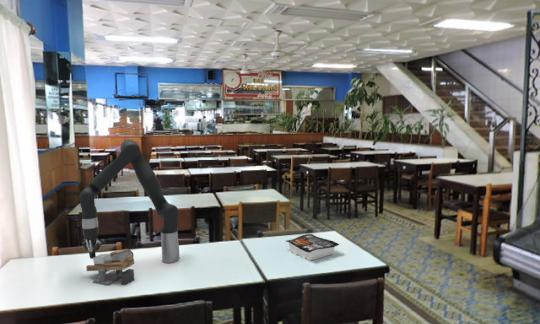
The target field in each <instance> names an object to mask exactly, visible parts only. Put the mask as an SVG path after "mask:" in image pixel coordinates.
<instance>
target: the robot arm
mask: <svg viewBox="0 0 540 324" xmlns="http://www.w3.org/2000/svg"><path fill="white" fill-rule="evenodd" d="M129 164H130V165H131V167H132V168H133V171H134V173H135V175H136V178H137V179H138V182H139V184H140V185H141V187H142V189H143V191H144V192H145V193H146V195H147V196H148V198H149V200H150V201H151V202H152V204H153V206H154V209H155V211H156V213H157V216H158V217H159V218H160V219H162V220H163V225H162V226H160V240H161V241H160V242H161V261H162V263H164V264H174V263H177V262H178V261H179V259H180V257H181V256H180V243H179V238H178V237H179V236H178V235H179V233H178V228H179V226H180V225H179V224H180V223H179V220H180V219H179V216H180V213H179V212H180V211H179V209H178V207H177V206H176V205H174V204H171V203H169V202H168V201H167V199H166V198H165V196H164V194H163V190H162V184H161V181H160V180H159V178H158V177H157V175H156V173H155V172H154V171H153V169H152V168H151V166H150V165H149V163H148V162H147V161H146V159H145V157H144V155H143V153H142V151H141V148H140V145H139V144H138V142H137V141H135V140H133V139H126V140H124V141H123V142H122V143H121V145H120V152H119V154H118V155H117V157H116V158H115V159H114V160H113V161H112V162H110V164H108V165H106V166H105V167H104V168H103V169H102V170H100V171H99V173H97V175H96V176H95V177H94V178H93V179H92V181H91V182H90V183H89V184H88V185H87V186H86V187H84V189H83V190H81V192H80V193H79V195H78V197H79V203H80V208H81V218H82V219H81V226H82V236H83V239H82V240H81V241H80V242H81V244H82V246H83V248H84V249H85V250H86V251H88V253H89V258H90V260H93V257H96V256H97V255H96V251H98V250H99V249H100V247H101V246H102V244H103V242H102V241H100V240H99V237H98V235H99V233H100V231H99V230H100V229H99V220H98V211H97V207H96V205H95V203H96V202H95V199H96V197H97V196H98V195H99V194H100V193H101V192H102V190H103V189H105V188H106V187H107V186H108V185H109V184H110V183H111V182H112V180H114V178H116V176H118V174H119V173H120V172H121V171H122V170H123V169H124V168H125V167H127V166H128V165H129Z"/></svg>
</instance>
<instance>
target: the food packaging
mask: <svg viewBox="0 0 540 324" xmlns="http://www.w3.org/2000/svg"><path fill="white" fill-rule="evenodd" d="M286 243H288V247H289V250H290V252H291V253H293V254H294V255H295V256H297V255H298V256H299V257H302V259H303V260H308V261H309V262H310V261H315V260H318V259H320V258H325V257H327V256H331V255H333V252H335V247H338V246H340V243H338V242H335V241H334V240H330V239H327V238H323V237H319V236H316V235H314V234H313V233H307V234H302V235H300V236H298V237H295V238H293V239H288V240H286Z"/></svg>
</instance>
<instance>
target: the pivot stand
mask: <svg viewBox="0 0 540 324" xmlns="http://www.w3.org/2000/svg"><path fill="white" fill-rule="evenodd" d="M123 270H124V269H123ZM123 270H111V271H110V272H108V273H107V272H106V270H105V269H99V271H98V278H96V279H93V280H92V283H94V284H97V285H102V286H106V287H109V286H111V285H112V284H115V283H117V282H119V281H120V285H125V286H128V285H129V284H131V283H132V282H134V281H135V269H133V268H128V269H126V270H124V271H123Z"/></svg>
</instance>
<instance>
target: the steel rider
mask: <svg viewBox="0 0 540 324" xmlns="http://www.w3.org/2000/svg"><path fill="white" fill-rule="evenodd" d="M92 261H93V265H106V264H111V263H112V260H111V255H110V253H102V254H99V255H96V257H93V259H92Z"/></svg>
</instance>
